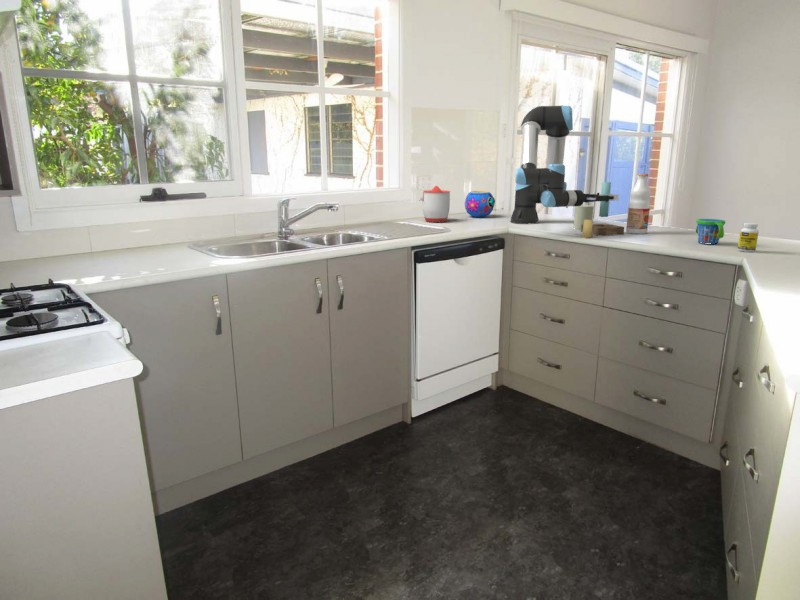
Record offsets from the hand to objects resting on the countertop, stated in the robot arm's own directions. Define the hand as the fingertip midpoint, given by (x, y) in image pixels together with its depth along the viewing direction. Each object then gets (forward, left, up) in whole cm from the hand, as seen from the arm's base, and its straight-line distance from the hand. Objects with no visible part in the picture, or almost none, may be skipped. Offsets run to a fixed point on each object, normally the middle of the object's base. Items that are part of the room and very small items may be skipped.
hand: (614, 197), depth 268 cm
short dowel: (+9, -20, -17) cm, 28 cm away
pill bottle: (+60, +18, -17) cm, 65 cm away
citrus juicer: (-68, -66, -17) cm, 97 cm away
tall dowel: (0, -5, -9) cm, 10 cm away
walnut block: (0, -5, -17) cm, 18 cm away
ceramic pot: (-79, -33, -17) cm, 88 cm away
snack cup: (+41, +18, -17) cm, 48 cm away
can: (-17, -4, -17) cm, 25 cm away
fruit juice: (+5, +11, -17) cm, 21 cm away
